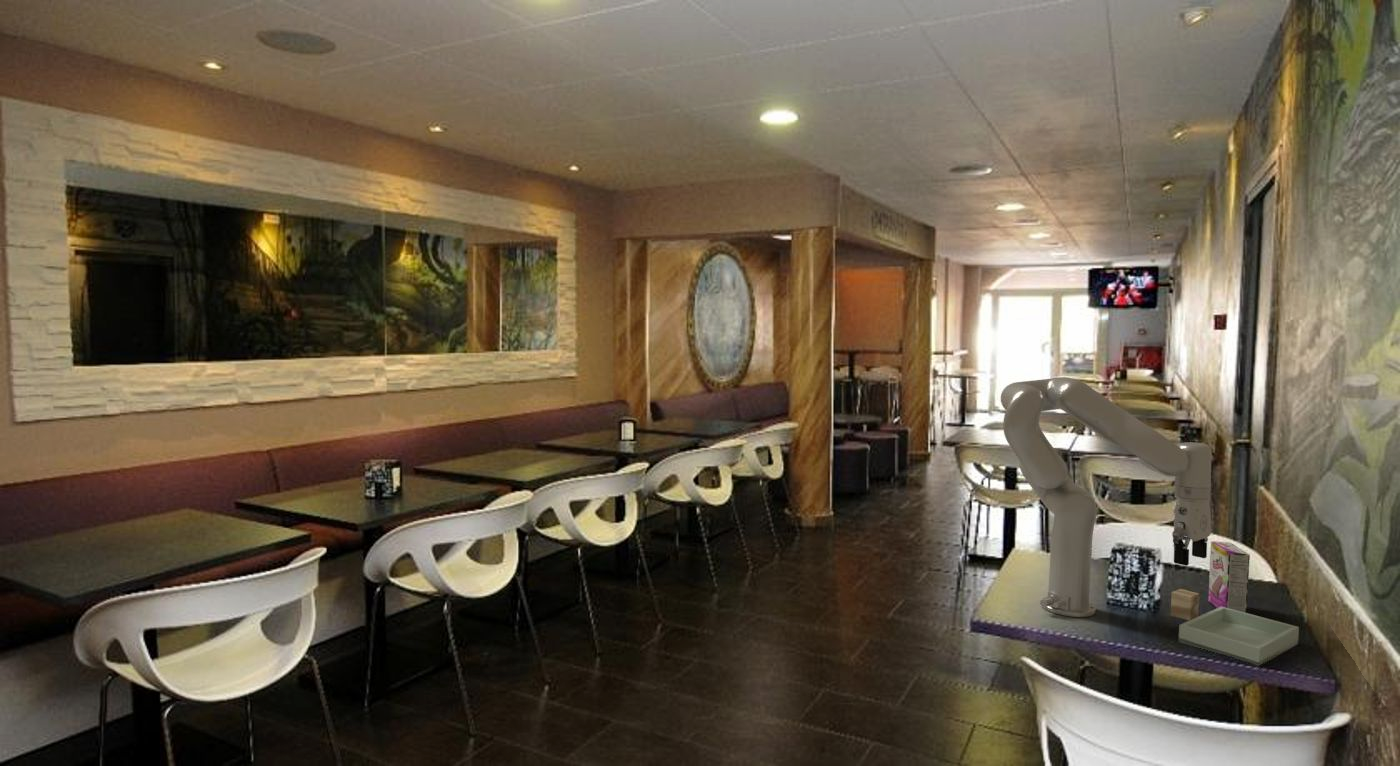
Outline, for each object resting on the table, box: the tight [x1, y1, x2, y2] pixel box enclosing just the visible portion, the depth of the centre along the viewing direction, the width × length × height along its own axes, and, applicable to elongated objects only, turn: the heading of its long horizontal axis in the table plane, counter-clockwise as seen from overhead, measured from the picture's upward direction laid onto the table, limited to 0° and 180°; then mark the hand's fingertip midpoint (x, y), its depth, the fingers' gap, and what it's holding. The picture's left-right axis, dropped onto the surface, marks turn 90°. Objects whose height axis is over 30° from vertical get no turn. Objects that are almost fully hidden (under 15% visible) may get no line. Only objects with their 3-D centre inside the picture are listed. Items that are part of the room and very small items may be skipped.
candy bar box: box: [1207, 540, 1251, 613], centre depth 204 cm, size 11×5×16 cm, turn 168°
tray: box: [1178, 606, 1300, 667], centre depth 183 cm, size 22×16×4 cm
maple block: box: [1170, 588, 1200, 621], centre depth 199 cm, size 4×4×6 cm
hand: (1190, 560), depth 198 cm, fingers open, 9 cm apart
